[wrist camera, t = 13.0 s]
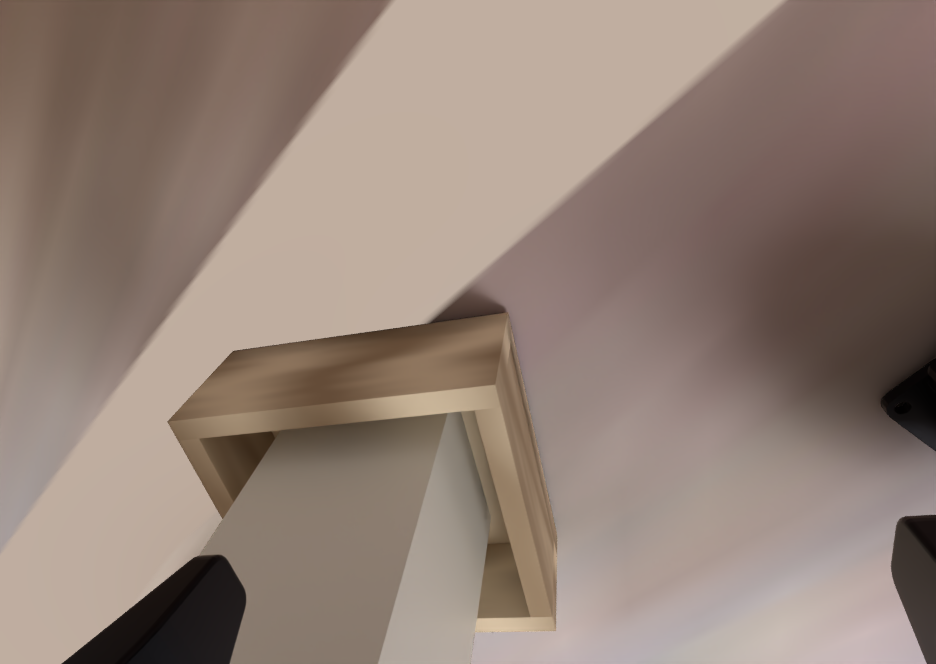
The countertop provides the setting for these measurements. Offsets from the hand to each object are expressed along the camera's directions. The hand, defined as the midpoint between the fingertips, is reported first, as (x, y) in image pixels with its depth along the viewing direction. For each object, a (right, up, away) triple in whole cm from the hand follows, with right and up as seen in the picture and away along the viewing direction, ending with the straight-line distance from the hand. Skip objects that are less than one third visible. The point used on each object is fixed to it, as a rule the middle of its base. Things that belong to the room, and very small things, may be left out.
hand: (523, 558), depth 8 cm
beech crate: (-3, -2, +17) cm, 17 cm away
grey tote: (-4, -2, +16) cm, 16 cm away
